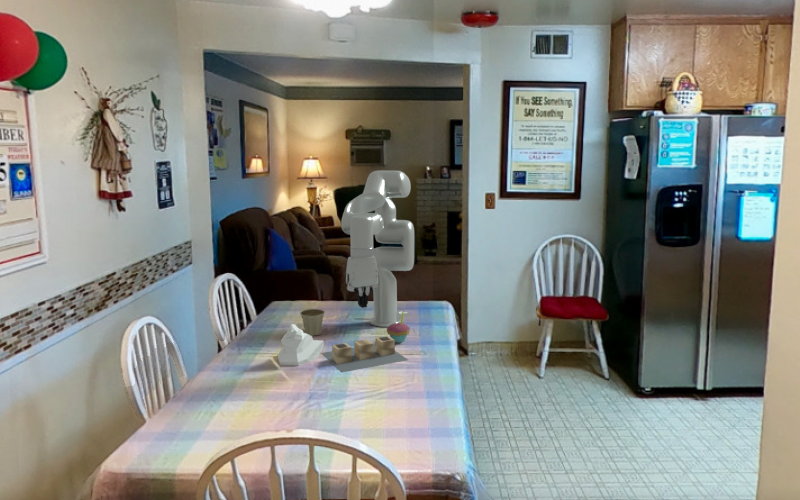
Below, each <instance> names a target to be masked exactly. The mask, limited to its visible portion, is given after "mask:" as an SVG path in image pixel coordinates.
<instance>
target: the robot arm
mask: <svg viewBox="0 0 800 500" xmlns="http://www.w3.org/2000/svg"><path fill="white" fill-rule="evenodd" d="M411 186H412V185H411V180H410V178H409V176H408V175H406V173H405V172H404V171H401V170H388V169H387V170H384V169H382V170H374V171H372V172H370V173H369V175H367V179H366V183H365V186H364V189H363V191H362V193H361V194H359V195H358V196H356V197H355V198H353V199H352V200H350V201H349V202H348V203H347V204H346V206H345V207H344V211H343V213H342V217H341V222H340V224H341V230H342V231H343V232H344V234H346V235H350V256H348V257H347V262H346V271H345V282H346V285H347V286H346V290H347V291H348V292H354V294H356V295H357V304H358V307H360V308H363V309H364V308H367V307H368V303H369V301H368V300H369V298H368V297H369V295H370V293H371V292H372V290H373V317H372V318H370V320H369V323H370V324H371V325H372V326H375V327H378V328H379V327H380V328H387V327H388V326H390V325H391V324H393V323H399V322H400V323H401V316H402V313H404V315H403V318H404V317H408V315H409V313H408V311H404V312H403V311H401V310H399V311H398V297H397V295H398V293H397V292H398V289H397V287H398V286H397V284H398V283H397V282H398V281H397V279H396V276H395V275H394V274H393V272H392V271H395V272H398V271H399V272H402V271H403V272H407V271H411V270H412V269H413V268H414V265H415V227H414V224H413V222H412V221H410V220H406V219H397V208H396V205H395V203H394V202H393V200H392V198H394V199H396V198H397V199H398V198H402V199H403V198H407V197H408V196H409V195H410V193H411V189H412V188H411ZM374 238H375V241H376V242H377V243H380V244H391V245H392V244H399V245H400V244H401V245H402V246H379V247H375V248H374Z"/></svg>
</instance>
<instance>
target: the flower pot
mask: <svg viewBox="0 0 800 500" xmlns="http://www.w3.org/2000/svg"><path fill="white" fill-rule="evenodd" d="M325 313H326V312H325V310H324V309H320V308H319V309H317V308H312V309H311V308H310V309H304V310H301V312H300V315H301V319H302V323H303V329H304V333H306V334H309V335H310V336H312V337H313V336H319V335H321V334H322V328H323V321H324V315H325Z"/></svg>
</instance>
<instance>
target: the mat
mask: <svg viewBox="0 0 800 500" xmlns="http://www.w3.org/2000/svg"><path fill="white" fill-rule="evenodd" d="M373 347H374V358H368V359H363V360H359V359H358V358H357V357H356V356H355V355H354V347H351V349H352V362H346V363H340V364H337V363H336V362H335V361H334V360H333V359H332V350H331V351H325V352H320V354H321V355H322V356H323V357H324V358H326V359H327V361H328V362H330V363H331V364H332V365H333V366H334V367H335V368H336V369H337V370H338V371H339V372H340V373H347V372H352V371H358V370H361V369H362V370H363V369H367V368H368V369H369V368H374V367H378V366H383V365H389V364H393V363H400V362H405V361H409V359H407V357H405V356H403V355H402V354H400V352H398V351H396V350H395V354H391V355H385V356H381V355H379V354H378V353H377V352H376V343H375V344H374V343H373Z"/></svg>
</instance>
